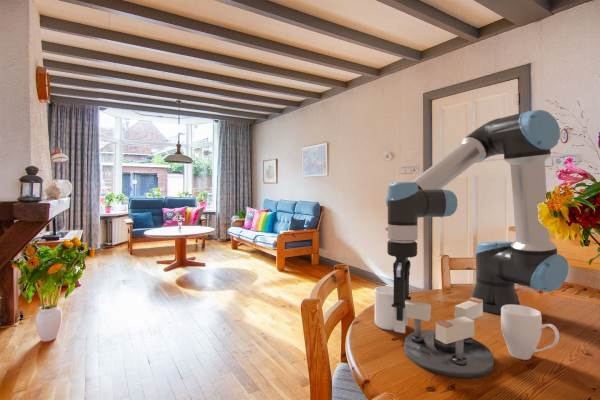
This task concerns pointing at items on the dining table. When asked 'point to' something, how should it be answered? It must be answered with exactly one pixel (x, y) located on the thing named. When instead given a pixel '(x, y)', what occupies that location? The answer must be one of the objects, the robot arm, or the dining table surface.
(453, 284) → the dining table surface
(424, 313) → the handle
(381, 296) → the mug
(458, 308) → the handle
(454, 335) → the knob
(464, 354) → the base
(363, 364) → the dining table surface
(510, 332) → the mug
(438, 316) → the dining table surface
